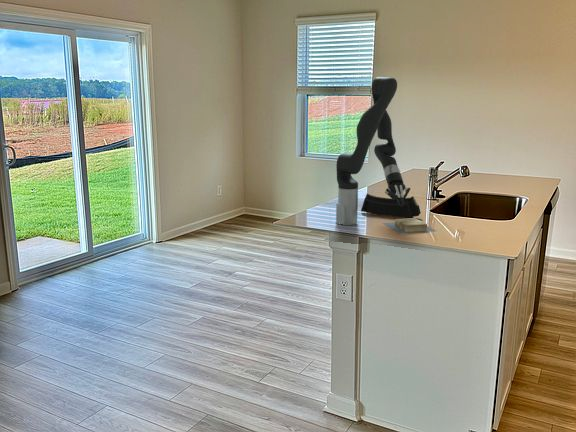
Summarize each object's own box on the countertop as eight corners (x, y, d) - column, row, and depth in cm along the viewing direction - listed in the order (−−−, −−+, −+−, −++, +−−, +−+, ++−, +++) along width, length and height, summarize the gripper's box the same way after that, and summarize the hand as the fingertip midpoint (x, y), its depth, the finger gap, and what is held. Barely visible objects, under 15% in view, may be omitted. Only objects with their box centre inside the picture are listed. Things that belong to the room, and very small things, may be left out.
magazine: (356, 196, 265) (411, 183, 249) (359, 195, 268) (413, 182, 252) (364, 227, 267) (420, 217, 250) (367, 226, 269) (422, 216, 253)
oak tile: (414, 224, 241) (426, 230, 229) (395, 225, 239) (406, 231, 227) (415, 218, 240) (427, 224, 229) (395, 219, 238) (406, 225, 227)
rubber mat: (436, 231, 229) (437, 231, 229) (399, 234, 225) (399, 233, 225) (416, 221, 248) (416, 220, 248) (381, 223, 244) (381, 222, 244)
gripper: (382, 172, 246) (391, 201, 237) (408, 171, 248) (418, 200, 239) (378, 181, 252) (386, 210, 243) (403, 180, 255) (412, 209, 246)
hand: (402, 205), depth 241 cm, fingers closed
